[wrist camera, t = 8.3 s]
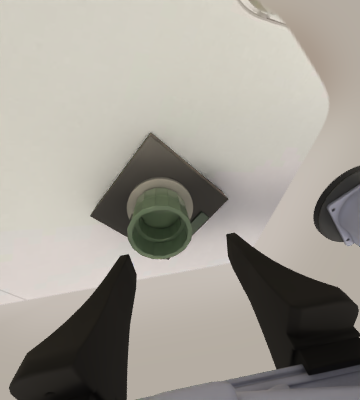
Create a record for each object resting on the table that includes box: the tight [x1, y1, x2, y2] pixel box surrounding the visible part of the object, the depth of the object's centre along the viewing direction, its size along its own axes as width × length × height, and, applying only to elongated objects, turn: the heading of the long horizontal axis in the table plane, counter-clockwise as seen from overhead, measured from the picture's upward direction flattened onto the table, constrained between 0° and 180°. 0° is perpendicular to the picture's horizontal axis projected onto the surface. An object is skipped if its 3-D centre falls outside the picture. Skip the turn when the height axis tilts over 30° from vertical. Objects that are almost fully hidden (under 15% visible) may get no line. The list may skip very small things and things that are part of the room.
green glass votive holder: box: [127, 188, 192, 259], centre depth 18 cm, size 6×6×4 cm
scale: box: [90, 133, 228, 260], centre depth 22 cm, size 11×11×3 cm
